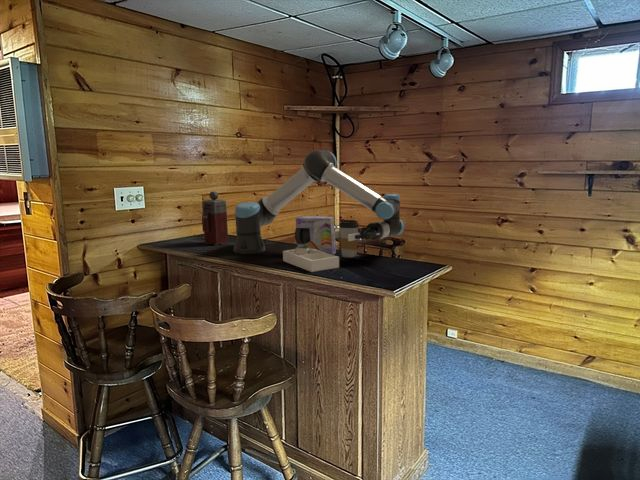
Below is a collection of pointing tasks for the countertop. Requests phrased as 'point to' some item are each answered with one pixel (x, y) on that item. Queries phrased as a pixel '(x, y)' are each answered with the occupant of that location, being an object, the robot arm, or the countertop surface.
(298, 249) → the metal tin
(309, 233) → the cake pan box
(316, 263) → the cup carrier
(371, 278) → the countertop surface
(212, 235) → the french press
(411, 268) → the countertop surface
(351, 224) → the coffee cup
